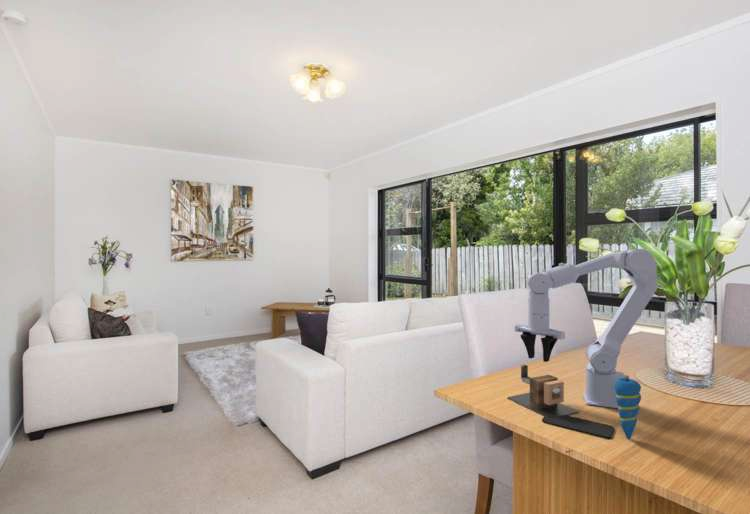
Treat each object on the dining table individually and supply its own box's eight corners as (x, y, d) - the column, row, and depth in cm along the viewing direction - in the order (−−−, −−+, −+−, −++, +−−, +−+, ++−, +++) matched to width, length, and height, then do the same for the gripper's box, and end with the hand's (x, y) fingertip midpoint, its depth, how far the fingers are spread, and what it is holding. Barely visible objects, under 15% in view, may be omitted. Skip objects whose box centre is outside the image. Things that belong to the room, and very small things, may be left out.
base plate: (579, 412, 102) (579, 411, 102) (551, 419, 98) (551, 418, 98) (533, 393, 116) (533, 391, 116) (507, 398, 112) (507, 397, 112)
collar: (563, 401, 103) (563, 381, 103) (548, 405, 101) (548, 384, 101) (558, 399, 105) (558, 379, 105) (543, 403, 103) (543, 382, 103)
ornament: (645, 445, 85) (646, 377, 85) (619, 443, 86) (619, 375, 86) (634, 434, 90) (635, 369, 90) (610, 432, 91) (610, 368, 91)
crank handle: (561, 395, 102) (561, 377, 102) (556, 396, 101) (556, 378, 101) (524, 380, 114) (524, 364, 114) (519, 381, 113) (519, 365, 113)
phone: (548, 410, 102) (614, 426, 93) (548, 414, 102) (614, 429, 93) (540, 420, 97) (610, 437, 87) (540, 423, 97) (610, 441, 87)
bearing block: (557, 404, 106) (557, 377, 106) (538, 409, 103) (538, 381, 103) (548, 400, 109) (548, 374, 109) (529, 405, 106) (529, 378, 106)
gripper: (570, 315, 111) (570, 362, 112) (523, 309, 123) (523, 352, 123) (558, 318, 107) (558, 367, 107) (510, 311, 118) (511, 356, 119)
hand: (538, 359), depth 115 cm, fingers open, 4 cm apart
